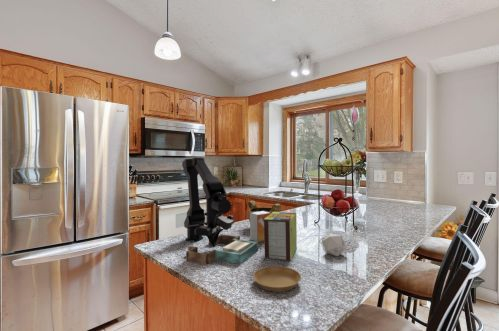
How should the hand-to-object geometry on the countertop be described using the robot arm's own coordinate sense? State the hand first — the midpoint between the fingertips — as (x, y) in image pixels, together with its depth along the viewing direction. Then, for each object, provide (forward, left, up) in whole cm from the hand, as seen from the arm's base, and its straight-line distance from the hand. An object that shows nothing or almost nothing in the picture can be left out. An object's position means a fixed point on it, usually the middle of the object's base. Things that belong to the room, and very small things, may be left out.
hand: (213, 246), depth 111 cm
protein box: (+27, +9, -2) cm, 28 cm away
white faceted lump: (+47, +16, -2) cm, 50 cm away
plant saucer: (+34, -17, -2) cm, 38 cm away
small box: (+12, +23, -2) cm, 26 cm away
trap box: (+5, 0, -2) cm, 5 cm away
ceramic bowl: (+6, +42, -2) cm, 42 cm away
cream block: (+11, +1, -2) cm, 11 cm away
